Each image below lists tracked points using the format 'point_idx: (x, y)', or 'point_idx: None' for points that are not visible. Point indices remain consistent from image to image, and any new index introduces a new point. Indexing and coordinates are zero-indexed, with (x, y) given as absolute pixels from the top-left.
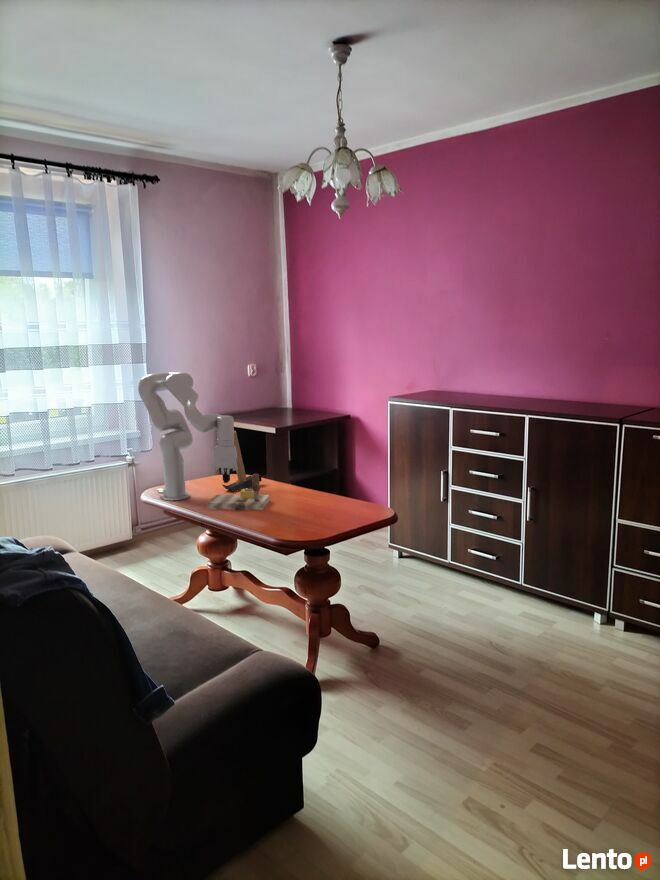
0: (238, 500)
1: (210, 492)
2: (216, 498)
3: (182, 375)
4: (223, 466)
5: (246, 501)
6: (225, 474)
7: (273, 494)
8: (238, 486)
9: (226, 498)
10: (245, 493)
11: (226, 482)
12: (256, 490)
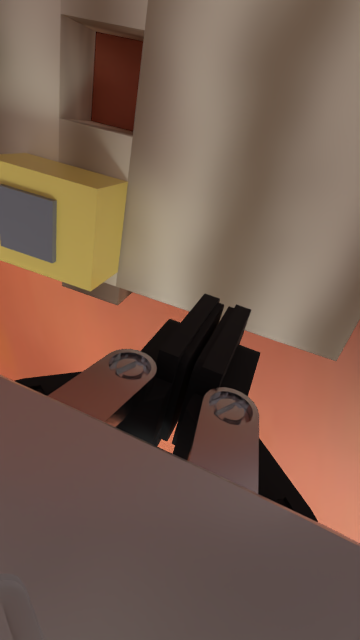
0: (137, 98)
1: (353, 524)
2: (357, 230)
3: None
4: (126, 486)
5: (57, 34)
6: (189, 386)
7: (7, 354)
8: None
9: (254, 204)
10: (59, 173)
11: (212, 297)
12: None
